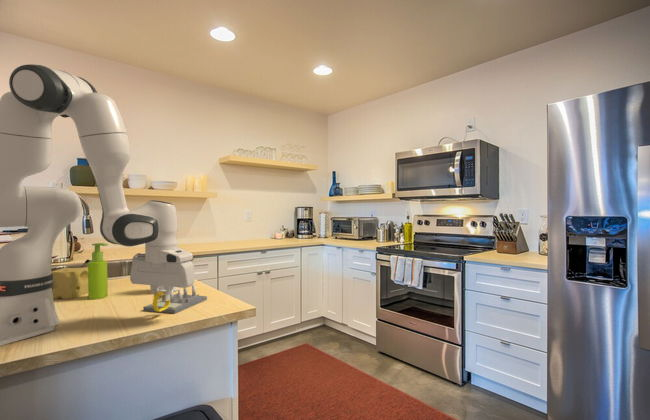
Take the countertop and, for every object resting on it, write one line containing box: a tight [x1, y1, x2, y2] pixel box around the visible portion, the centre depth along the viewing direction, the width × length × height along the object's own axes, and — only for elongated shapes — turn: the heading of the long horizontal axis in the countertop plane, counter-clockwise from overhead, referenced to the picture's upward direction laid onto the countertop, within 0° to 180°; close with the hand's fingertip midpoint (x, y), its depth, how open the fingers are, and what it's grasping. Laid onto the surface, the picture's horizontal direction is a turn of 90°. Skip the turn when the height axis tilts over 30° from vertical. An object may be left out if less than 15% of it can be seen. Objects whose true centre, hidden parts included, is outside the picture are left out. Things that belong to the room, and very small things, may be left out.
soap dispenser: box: [87, 242, 109, 300], centre depth 123 cm, size 6×7×20 cm
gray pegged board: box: [143, 284, 208, 315], centre depth 113 cm, size 16×12×5 cm
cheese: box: [51, 267, 88, 300], centre depth 126 cm, size 10×11×10 cm
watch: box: [152, 290, 170, 313], centre depth 101 cm, size 6×3×6 cm, turn 166°
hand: (161, 299), depth 101 cm, fingers closed on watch
